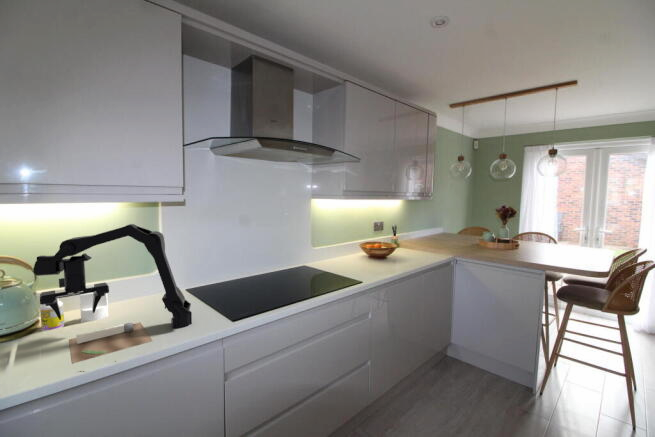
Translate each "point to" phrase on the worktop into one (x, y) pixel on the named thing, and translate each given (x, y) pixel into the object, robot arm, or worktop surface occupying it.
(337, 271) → the worktop surface
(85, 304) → the white open-front box
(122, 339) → the board
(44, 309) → the supplement bottle
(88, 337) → the dial needle
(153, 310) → the worktop surface
